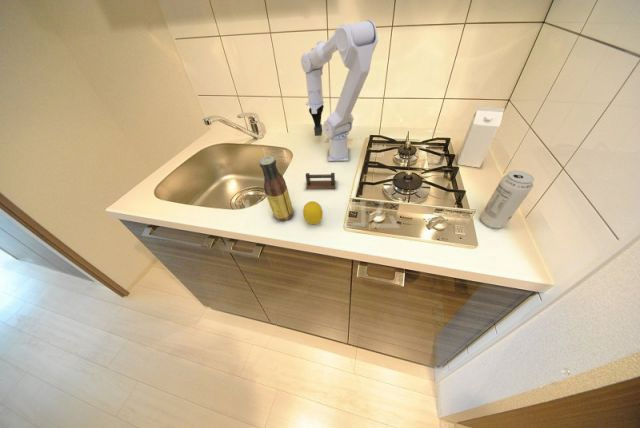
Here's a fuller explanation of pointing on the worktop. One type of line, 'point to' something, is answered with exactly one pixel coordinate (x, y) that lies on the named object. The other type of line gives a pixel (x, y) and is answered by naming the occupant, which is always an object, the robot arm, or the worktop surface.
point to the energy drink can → (507, 198)
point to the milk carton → (480, 136)
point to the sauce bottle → (276, 189)
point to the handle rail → (320, 183)
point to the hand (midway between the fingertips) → (317, 125)
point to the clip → (318, 130)
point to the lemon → (312, 212)
